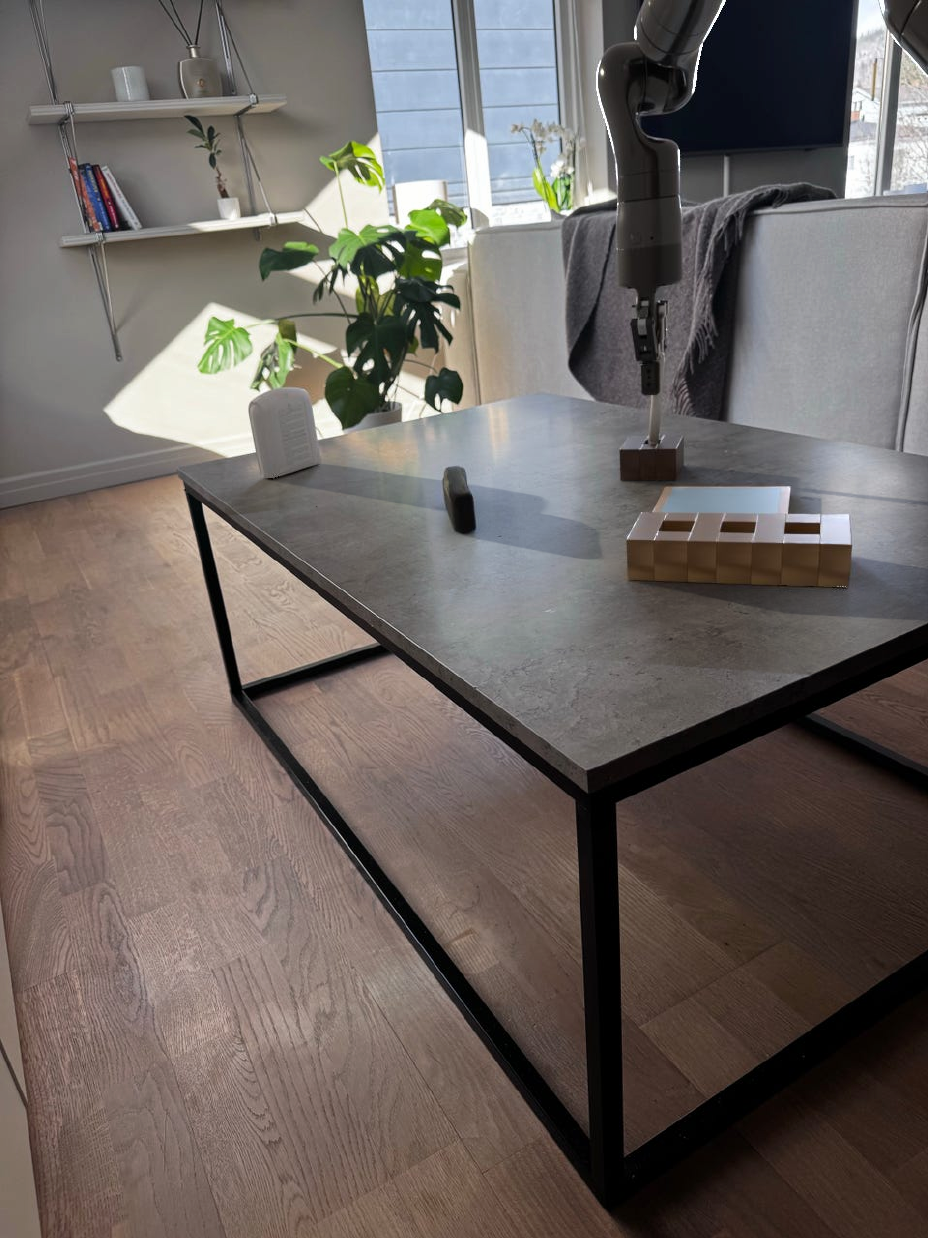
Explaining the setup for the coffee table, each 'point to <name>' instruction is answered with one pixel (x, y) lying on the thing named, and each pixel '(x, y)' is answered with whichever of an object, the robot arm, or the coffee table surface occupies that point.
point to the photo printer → (284, 431)
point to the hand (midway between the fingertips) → (652, 392)
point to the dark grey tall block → (458, 499)
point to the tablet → (724, 500)
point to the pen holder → (741, 548)
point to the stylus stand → (652, 458)
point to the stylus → (656, 407)
